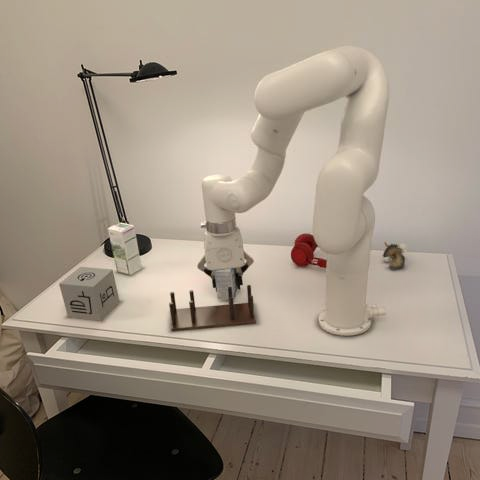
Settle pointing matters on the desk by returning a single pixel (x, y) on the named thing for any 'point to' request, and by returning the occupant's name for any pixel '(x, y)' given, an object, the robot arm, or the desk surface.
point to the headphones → (306, 251)
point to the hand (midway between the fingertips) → (228, 288)
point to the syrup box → (125, 248)
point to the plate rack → (212, 314)
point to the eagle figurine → (395, 255)
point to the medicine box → (226, 283)
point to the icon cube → (89, 293)
